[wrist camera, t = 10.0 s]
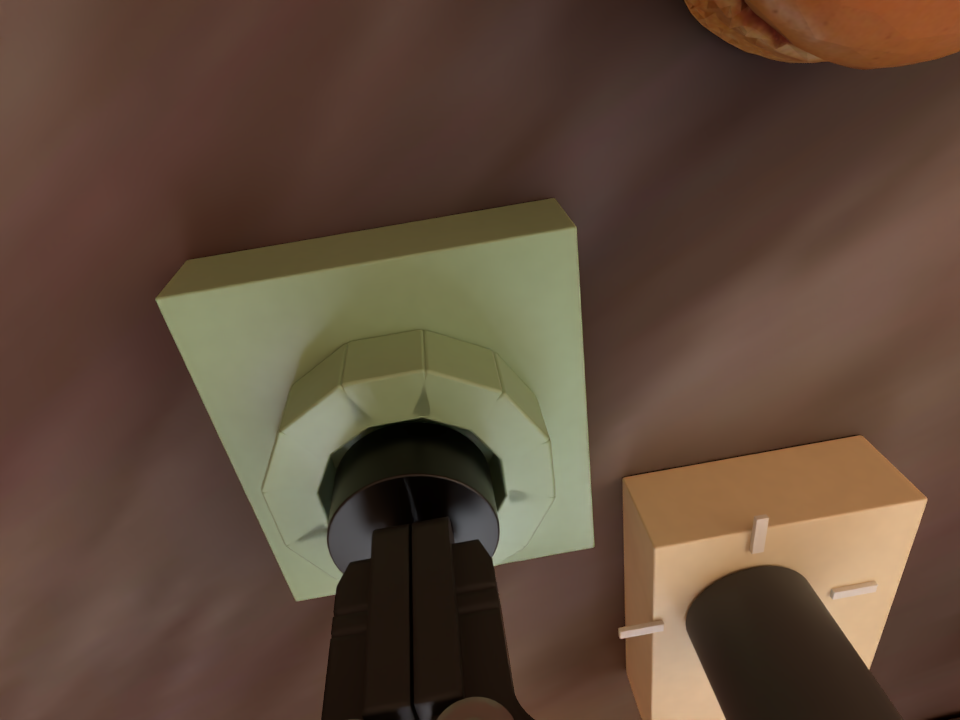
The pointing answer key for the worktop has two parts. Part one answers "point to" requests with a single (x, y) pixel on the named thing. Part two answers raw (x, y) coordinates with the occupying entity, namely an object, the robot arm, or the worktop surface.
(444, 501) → the button
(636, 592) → the panel
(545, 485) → the button box
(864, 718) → the dial
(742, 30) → the burger
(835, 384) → the worktop surface
